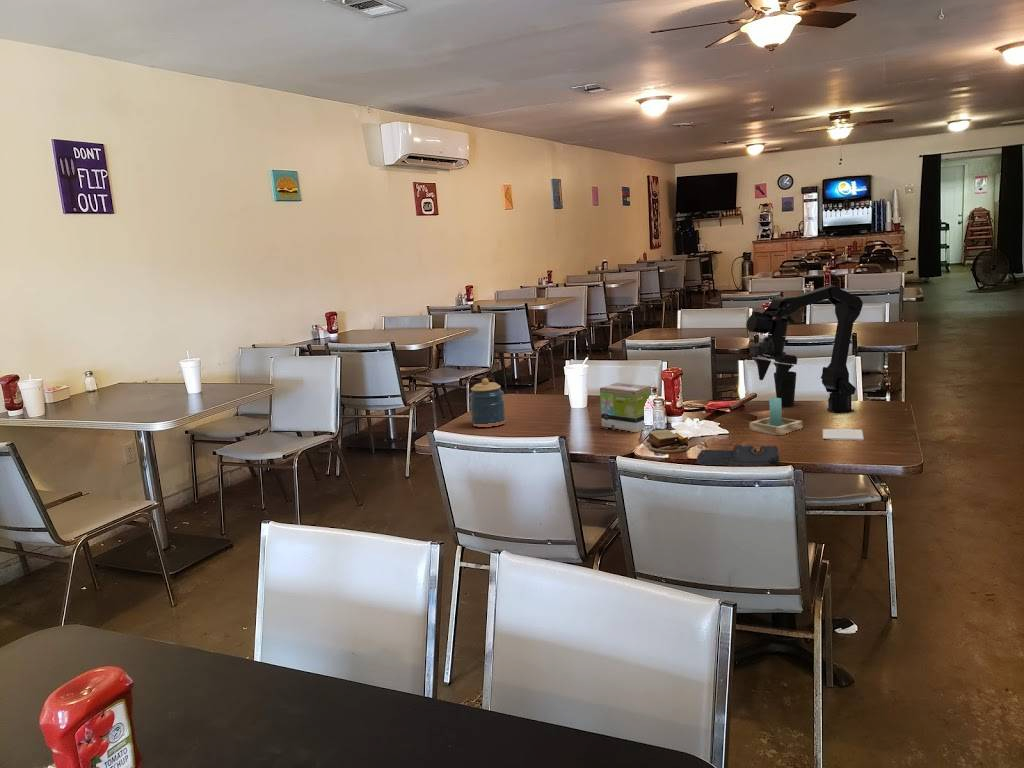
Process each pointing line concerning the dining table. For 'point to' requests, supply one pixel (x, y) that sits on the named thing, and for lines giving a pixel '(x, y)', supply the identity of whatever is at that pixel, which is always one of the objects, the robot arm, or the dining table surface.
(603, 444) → the dining table surface
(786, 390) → the cup
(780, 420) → the t key
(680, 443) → the toy sandwich meal
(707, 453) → the dark slate chunk
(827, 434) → the mat
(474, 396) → the canister
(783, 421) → the socket collar
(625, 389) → the tea box
